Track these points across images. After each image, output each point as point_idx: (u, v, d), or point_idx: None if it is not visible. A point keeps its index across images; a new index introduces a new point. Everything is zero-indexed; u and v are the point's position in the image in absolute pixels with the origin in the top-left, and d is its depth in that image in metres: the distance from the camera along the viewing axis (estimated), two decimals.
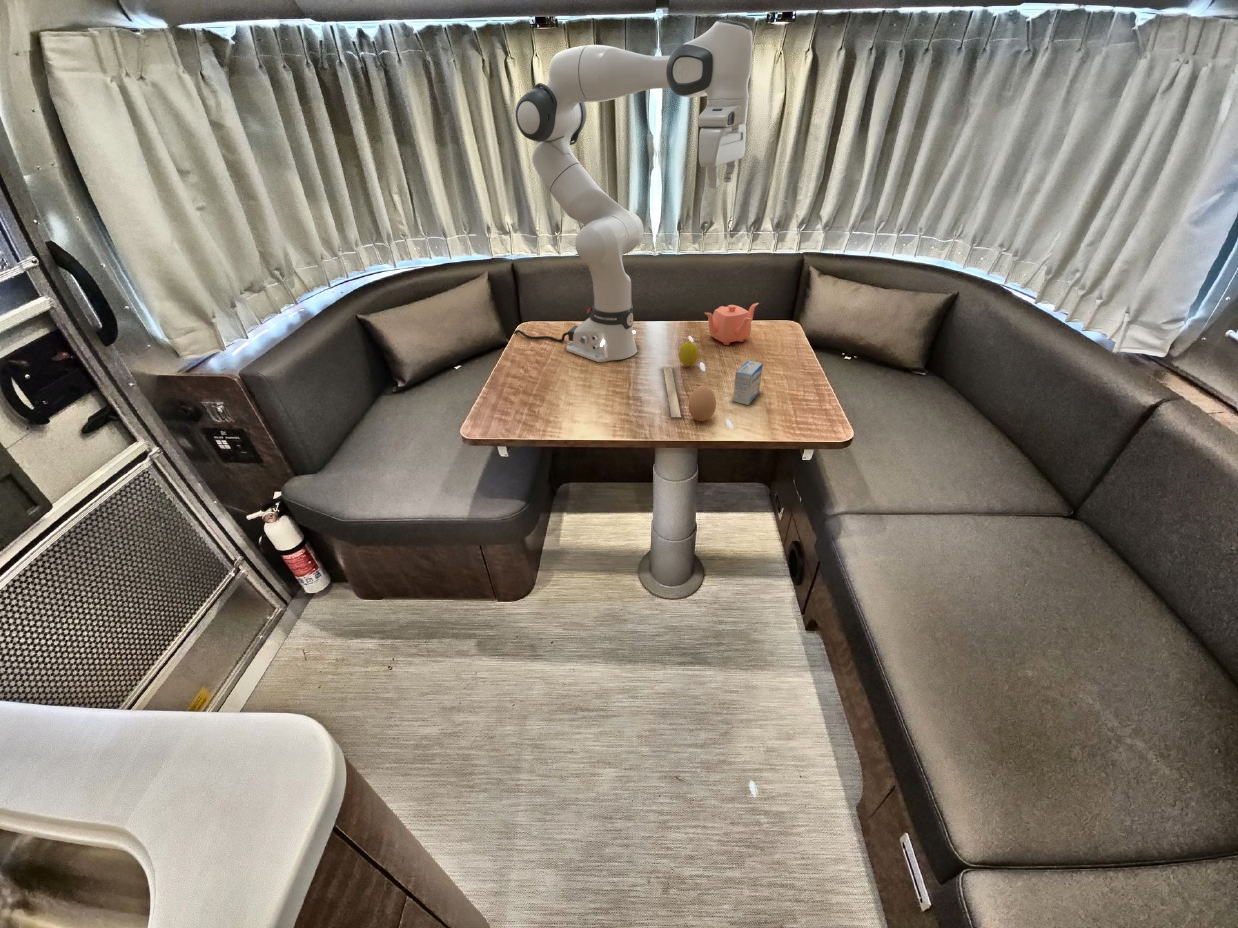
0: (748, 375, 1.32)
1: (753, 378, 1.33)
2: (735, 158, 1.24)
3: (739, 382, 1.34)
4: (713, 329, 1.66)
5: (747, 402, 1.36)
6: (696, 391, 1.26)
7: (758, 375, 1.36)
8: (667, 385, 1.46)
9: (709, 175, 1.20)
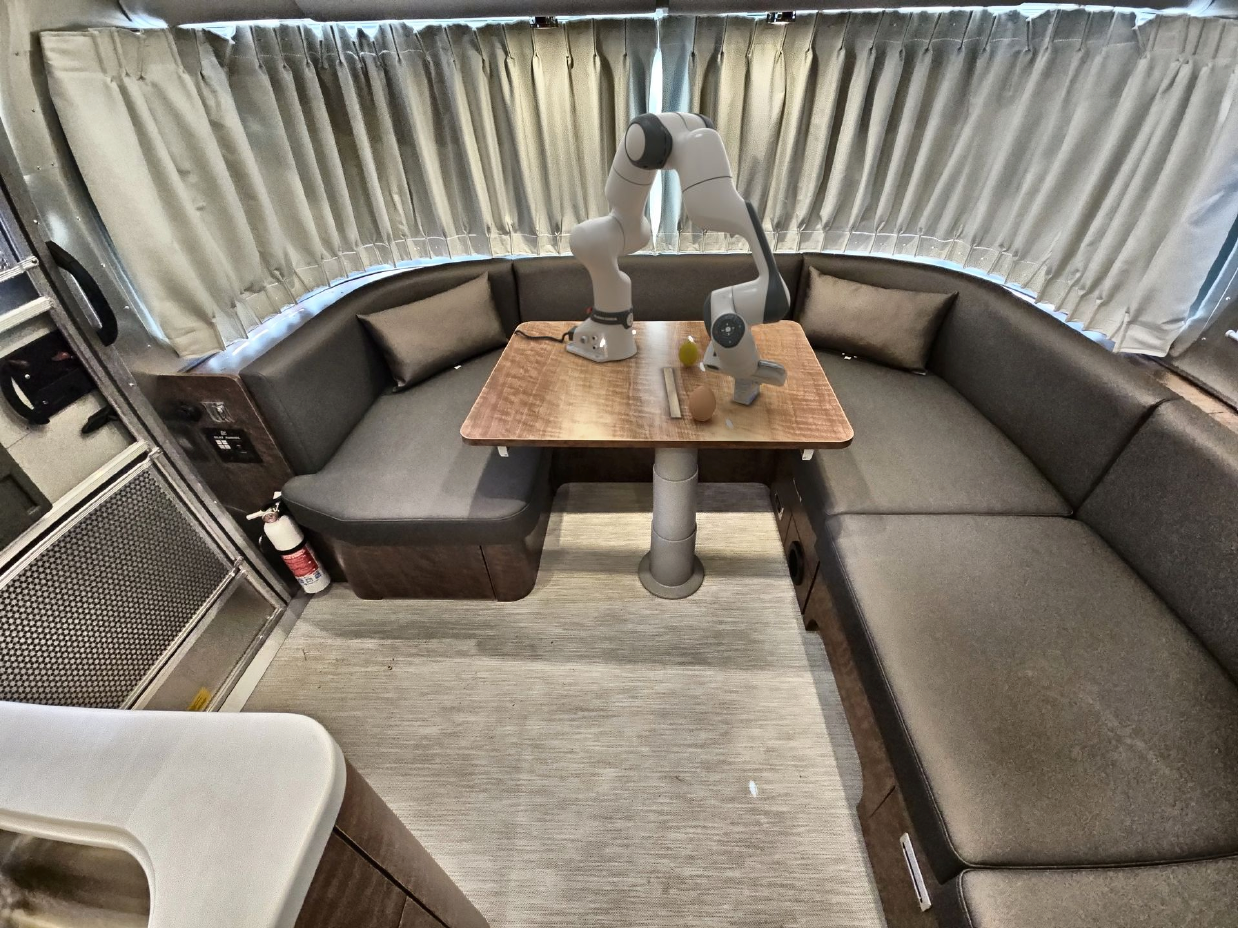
0: None
1: None
2: (757, 381, 1.31)
3: (739, 382, 1.34)
4: None
5: (747, 402, 1.36)
6: (696, 391, 1.26)
7: None
8: (667, 385, 1.46)
9: None
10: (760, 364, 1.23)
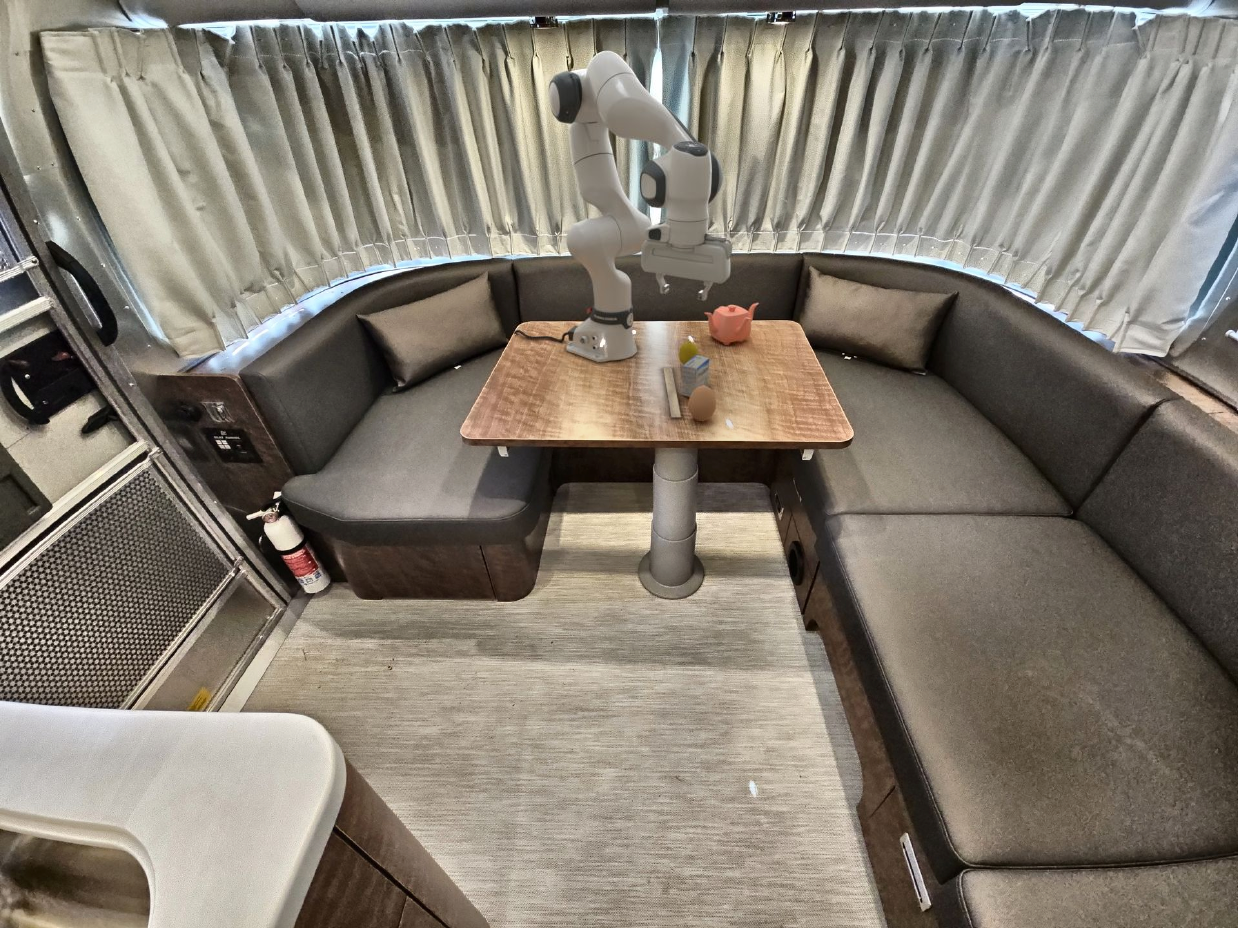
0: (694, 369, 1.35)
1: (699, 372, 1.37)
2: (695, 277, 1.15)
3: (686, 376, 1.38)
4: (713, 329, 1.66)
5: None
6: (696, 391, 1.26)
7: (705, 369, 1.39)
8: (667, 385, 1.46)
9: None
10: (707, 235, 1.10)
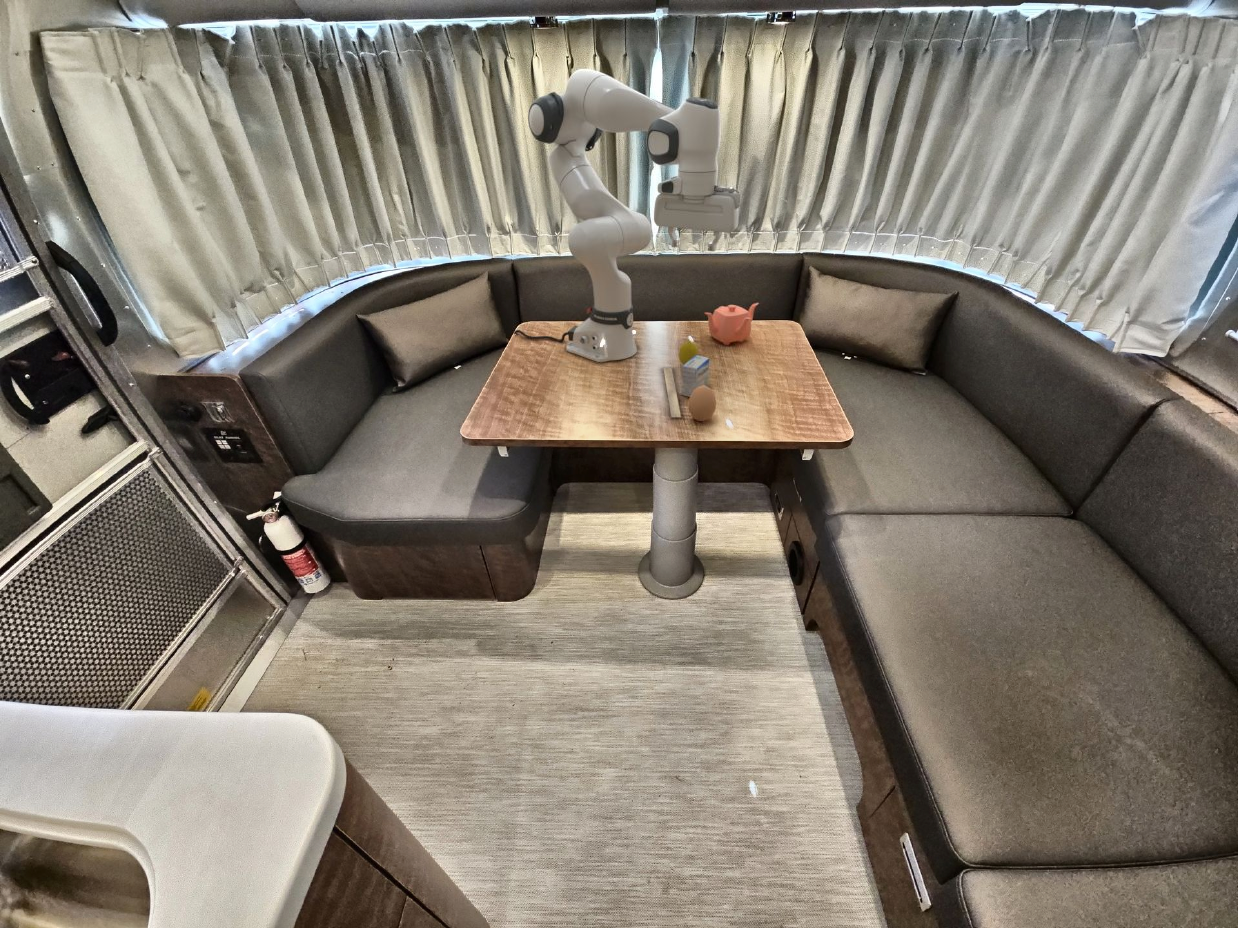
0: (694, 369, 1.35)
1: (699, 372, 1.37)
2: (706, 228, 1.23)
3: (686, 376, 1.38)
4: (713, 329, 1.66)
5: None
6: (696, 391, 1.26)
7: (705, 369, 1.39)
8: (667, 385, 1.46)
9: None
10: (717, 187, 1.18)
